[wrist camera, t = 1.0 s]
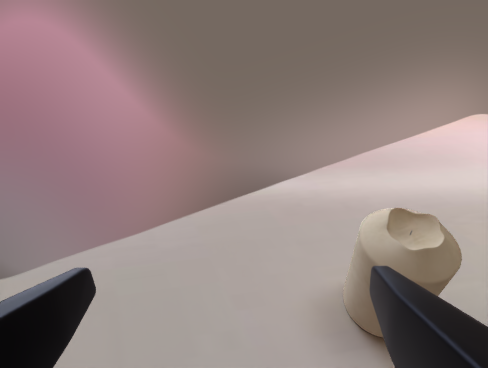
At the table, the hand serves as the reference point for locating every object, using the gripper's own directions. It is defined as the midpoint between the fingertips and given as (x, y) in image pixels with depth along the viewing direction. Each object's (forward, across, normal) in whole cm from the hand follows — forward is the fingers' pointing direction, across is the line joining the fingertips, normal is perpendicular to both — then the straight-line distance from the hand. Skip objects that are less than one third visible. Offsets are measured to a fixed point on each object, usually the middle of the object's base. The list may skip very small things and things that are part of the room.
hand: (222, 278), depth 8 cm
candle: (+12, -10, +12) cm, 19 cm away
